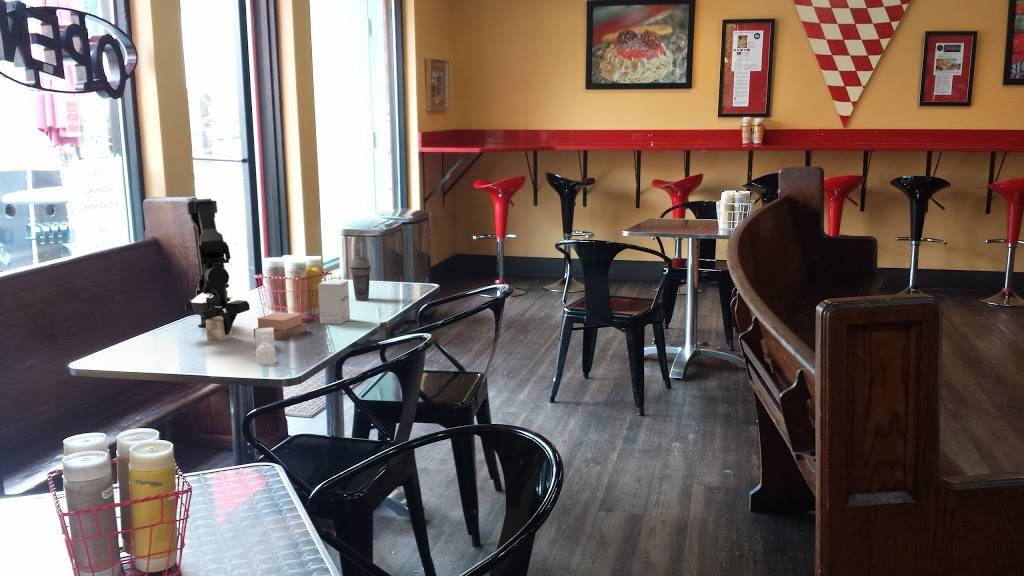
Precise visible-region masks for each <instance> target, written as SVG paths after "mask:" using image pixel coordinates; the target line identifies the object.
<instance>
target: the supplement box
mask: <svg viewBox="0 0 1024 576" xmlns="http://www.w3.org/2000/svg"><path fill="white" fill-rule="evenodd" d="M317 288H318V306H319V307H318V308H319V309H318V310H319V324H328V325H330V324H331V325H343V323H345V322H347V321H349V320H350V319H351V313H350V312H351V311H350V291H349V290H350V289H349V280H345V279H343V280H341V279H339V280H338V279H335V280H334V279H330V280H329V279H327V280H324V281H323V282H320V283H318V284H317Z"/></svg>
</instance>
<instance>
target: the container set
mask: <svg viewBox="0 0 1024 576" xmlns="http://www.w3.org/2000/svg"><path fill="white" fill-rule="evenodd" d="M256 328H257V329H255V328H254V329H255V337H254V338H255V364H257V365H270V364H274V363H276V362H277V359H276V347H275V346H276V345H275V344H276V343H275V339H274V329H273V327H271V328H258V327H256Z"/></svg>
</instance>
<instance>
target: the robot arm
mask: <svg viewBox="0 0 1024 576" xmlns="http://www.w3.org/2000/svg"><path fill="white" fill-rule="evenodd" d="M186 210H187V211H186V212H187V215H189V216H190V217H189V219H190V221H191V223H192V224H193V226H194V227H195V228H196V233H197V242H198V243H197V251H198V257H199V258H198V259H199V262H200V270H201V276H200V278H199V280H198V281H197V288H196V289H195V297H193V298H191V299H187V300H186V301H185V304H184V307H185V308H184V309H185V311H190V312H191V311H192V312H194V314H197V315H199V316H200V320H201V321H200V324H198V325H197V327H200V328H206V320H207V319H210V318H213V317H216V316H222V317H223V320H224V331H225V335H229V333H230V330H231V327H232V328H233V324H234V322H235V320H236V318H237V316H238V314H242V313H245V312H249V311H250V303H249V301H248V300H240V299H236V300H233V301H231V297H228V290H227V288H228V289H229V287H230V284H229V283H228V282H229V281H230V275H229V273H228V270H227V269H226V267H225V264H229V263H230V260H231V253H230V247H229V245H228V243H227V242H226V241H224V237H223V234H222V233H220V232H219V231H218V229H217V225H216V221H215V218H216V214H217V213H218V204H217V200H212V198H199V199H198V198H197V199H196V198H195V199H194V198H193V199H190V201H188V202H186Z"/></svg>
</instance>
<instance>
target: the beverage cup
mask: <svg viewBox="0 0 1024 576" xmlns="http://www.w3.org/2000/svg"><path fill="white" fill-rule="evenodd" d="M371 267H372V265H371V262H370V259H369V258H367V256H364V255H363V243H362V242H360V255H356V256H354V257H353V258H352V260H351V261H350V267H349V268H350V272H351V278H352V284H353V290H354V291H353V292H354V298H355V301H357V302H363V301H369V299H370V298H369V295H370V277H371V276H370V275H371V274H370V273H371Z"/></svg>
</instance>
